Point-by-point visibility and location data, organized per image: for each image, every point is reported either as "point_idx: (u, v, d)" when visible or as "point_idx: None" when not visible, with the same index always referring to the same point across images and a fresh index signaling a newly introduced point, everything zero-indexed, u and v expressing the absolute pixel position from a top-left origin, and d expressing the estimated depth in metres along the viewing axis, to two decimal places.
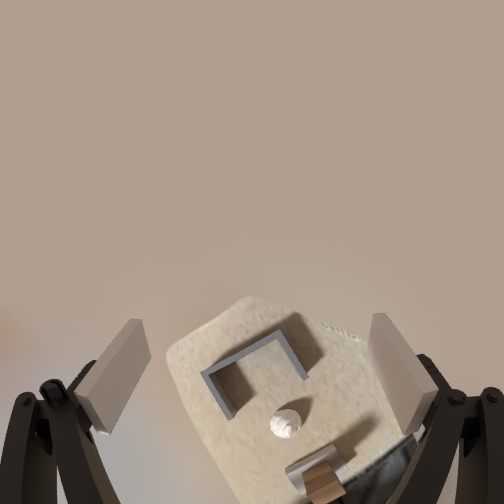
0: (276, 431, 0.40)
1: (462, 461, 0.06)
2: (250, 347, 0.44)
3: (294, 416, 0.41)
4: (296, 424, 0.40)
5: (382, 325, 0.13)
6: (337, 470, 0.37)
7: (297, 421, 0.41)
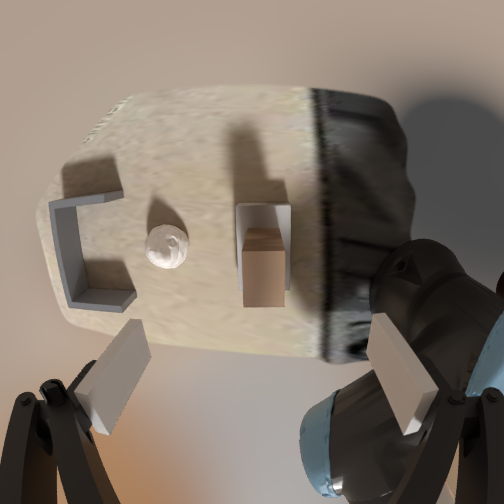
0: (163, 267, 0.33)
1: (462, 461, 0.06)
2: (55, 243, 0.31)
3: (153, 234, 0.32)
4: (162, 239, 0.31)
5: (382, 325, 0.13)
6: (278, 223, 0.31)
7: (163, 234, 0.32)
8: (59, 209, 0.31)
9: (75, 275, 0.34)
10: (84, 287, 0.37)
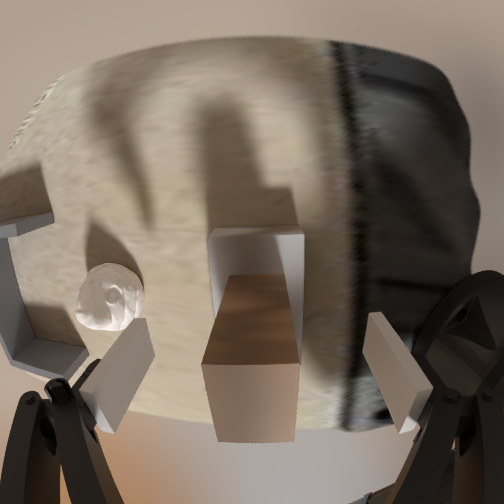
0: None
1: (458, 460, 0.06)
2: None
3: (86, 282, 0.19)
4: (97, 290, 0.18)
5: (378, 324, 0.13)
6: (283, 265, 0.18)
7: (100, 281, 0.19)
8: None
9: (13, 325, 0.21)
10: (28, 338, 0.23)
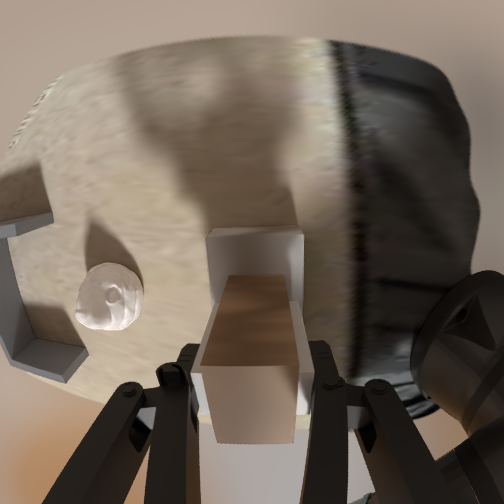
0: None
1: (367, 456, 0.08)
2: None
3: (86, 281, 0.19)
4: (97, 290, 0.18)
5: None
6: (282, 265, 0.18)
7: (100, 281, 0.19)
8: None
9: (12, 325, 0.21)
10: (28, 338, 0.23)
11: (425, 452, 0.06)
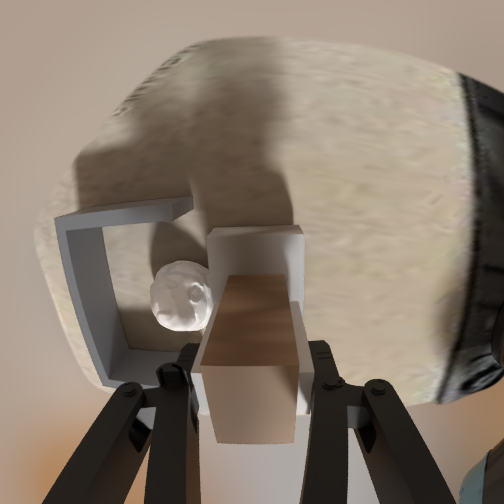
0: None
1: (367, 457, 0.08)
2: (71, 290, 0.18)
3: (161, 281, 0.19)
4: (178, 289, 0.19)
5: None
6: (283, 265, 0.18)
7: (178, 279, 0.19)
8: (74, 230, 0.18)
9: (109, 336, 0.22)
10: (123, 350, 0.24)
11: (426, 452, 0.06)
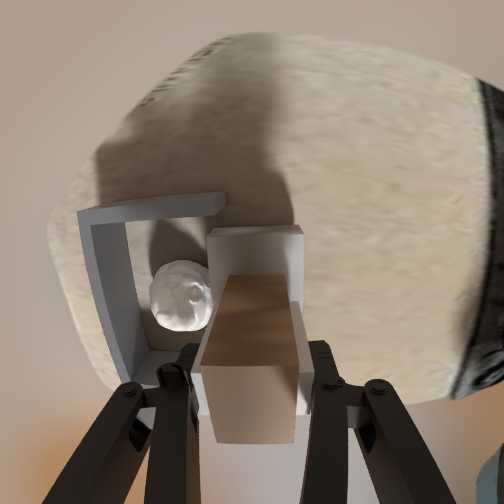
0: None
1: (367, 457, 0.08)
2: (94, 289, 0.18)
3: (161, 281, 0.19)
4: (177, 289, 0.19)
5: None
6: (282, 265, 0.18)
7: (178, 279, 0.19)
8: (99, 225, 0.17)
9: (131, 337, 0.21)
10: (144, 351, 0.23)
11: (425, 452, 0.06)
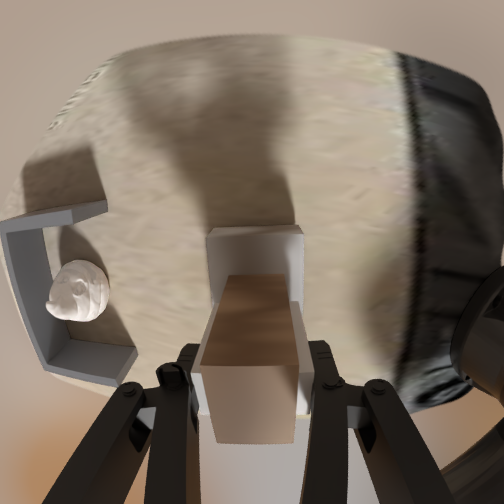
0: None
1: (367, 457, 0.08)
2: (13, 284, 0.18)
3: (57, 277, 0.19)
4: (65, 284, 0.19)
5: None
6: (282, 265, 0.18)
7: (69, 276, 0.20)
8: (14, 232, 0.18)
9: (48, 326, 0.21)
10: (63, 339, 0.24)
11: (425, 452, 0.06)
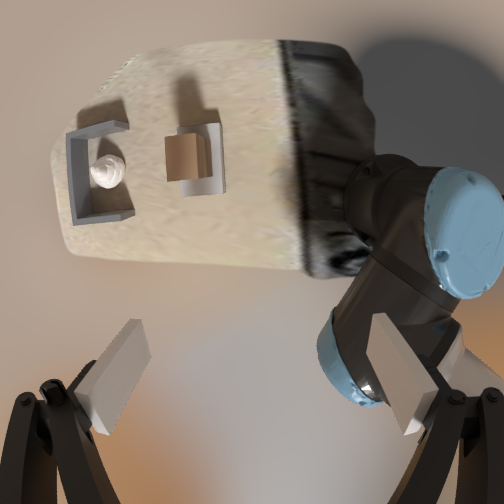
0: (104, 184, 0.38)
1: (462, 461, 0.06)
2: (68, 167, 0.36)
3: (97, 160, 0.37)
4: (102, 161, 0.37)
5: (382, 326, 0.13)
6: (210, 137, 0.36)
7: (104, 158, 0.37)
8: (74, 140, 0.35)
9: (82, 197, 0.39)
10: (88, 211, 0.41)
11: None
